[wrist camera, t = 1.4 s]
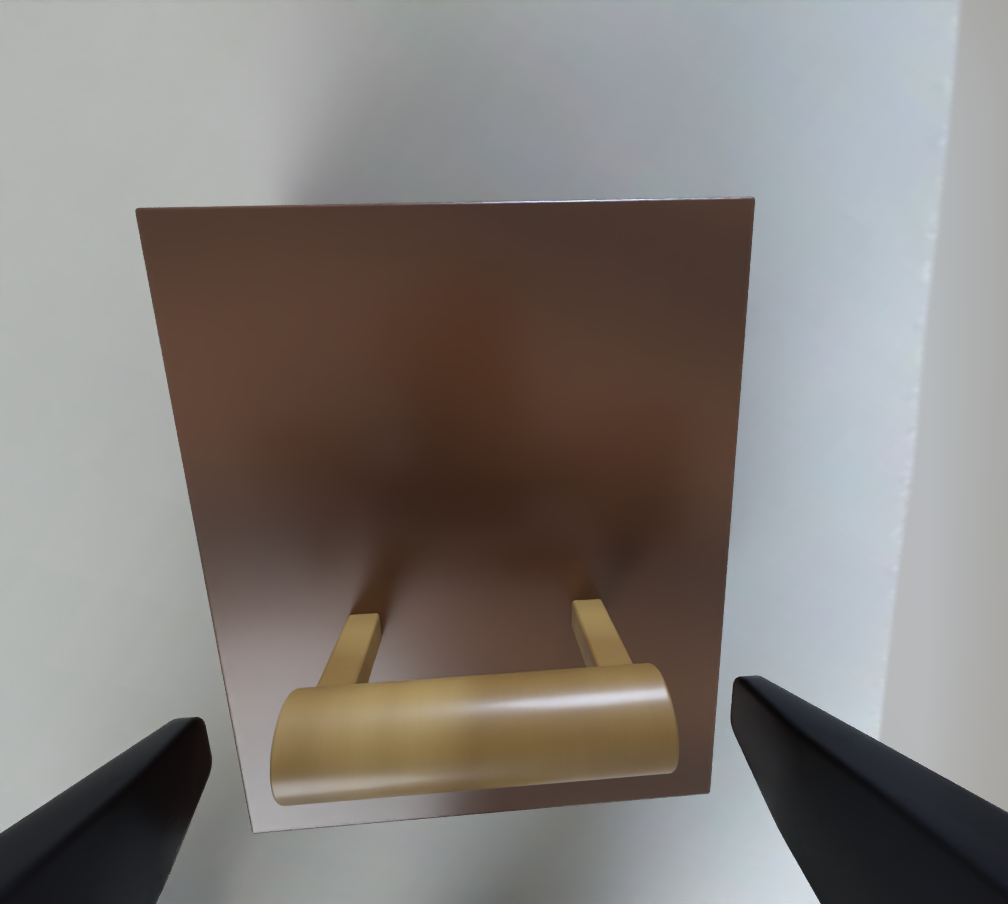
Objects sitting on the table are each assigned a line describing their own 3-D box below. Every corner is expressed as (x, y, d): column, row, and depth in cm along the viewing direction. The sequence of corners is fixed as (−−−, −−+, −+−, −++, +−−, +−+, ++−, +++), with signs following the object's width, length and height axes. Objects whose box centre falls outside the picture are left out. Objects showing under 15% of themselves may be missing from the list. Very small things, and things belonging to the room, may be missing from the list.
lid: (696, 768, 13) (818, 999, 9) (265, 804, 13) (143, 1076, 8) (734, 206, 10) (961, 89, 5) (160, 218, 9) (-145, 95, 5)
